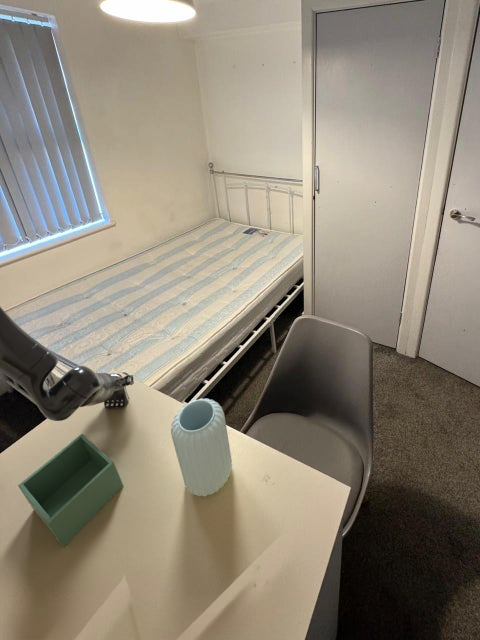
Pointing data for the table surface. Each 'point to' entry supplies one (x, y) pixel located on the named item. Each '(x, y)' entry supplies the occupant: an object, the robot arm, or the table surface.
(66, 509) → the bin
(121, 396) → the battery charger
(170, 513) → the table surface
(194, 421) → the vase
